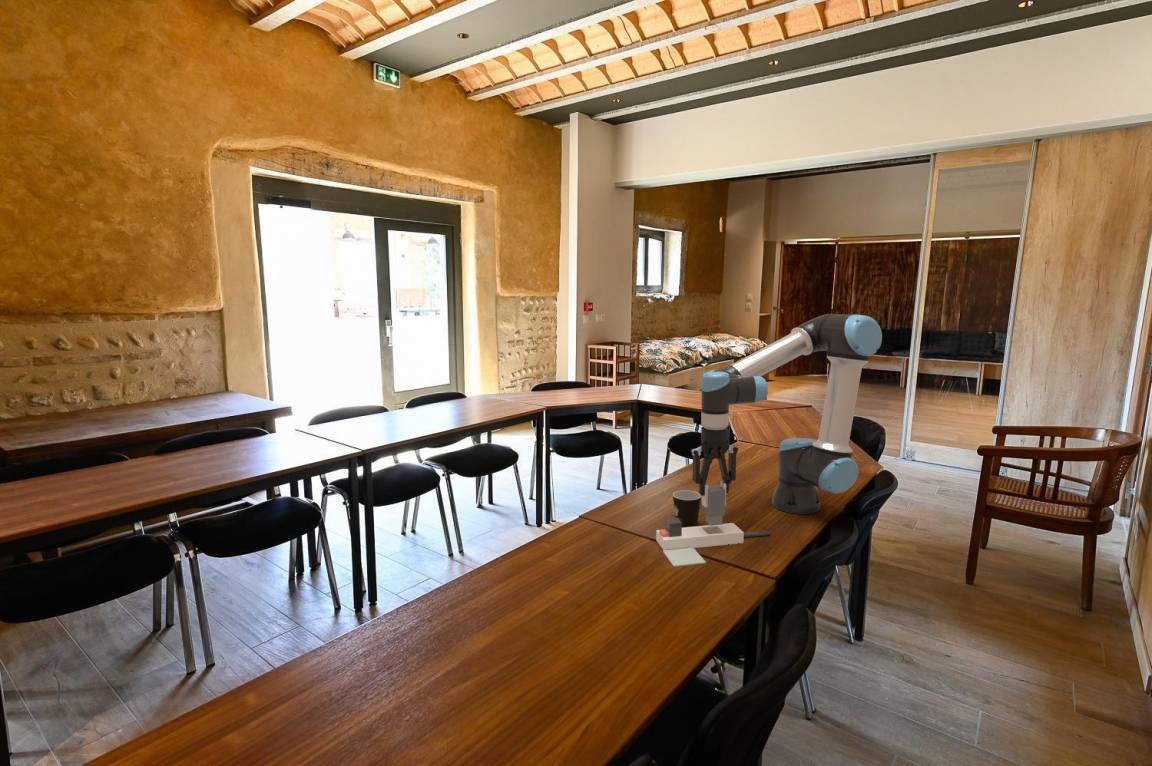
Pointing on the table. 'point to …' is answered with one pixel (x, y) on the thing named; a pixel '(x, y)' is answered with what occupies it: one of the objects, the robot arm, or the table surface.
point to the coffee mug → (687, 507)
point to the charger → (715, 505)
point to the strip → (700, 535)
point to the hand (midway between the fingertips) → (713, 504)
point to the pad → (684, 557)
